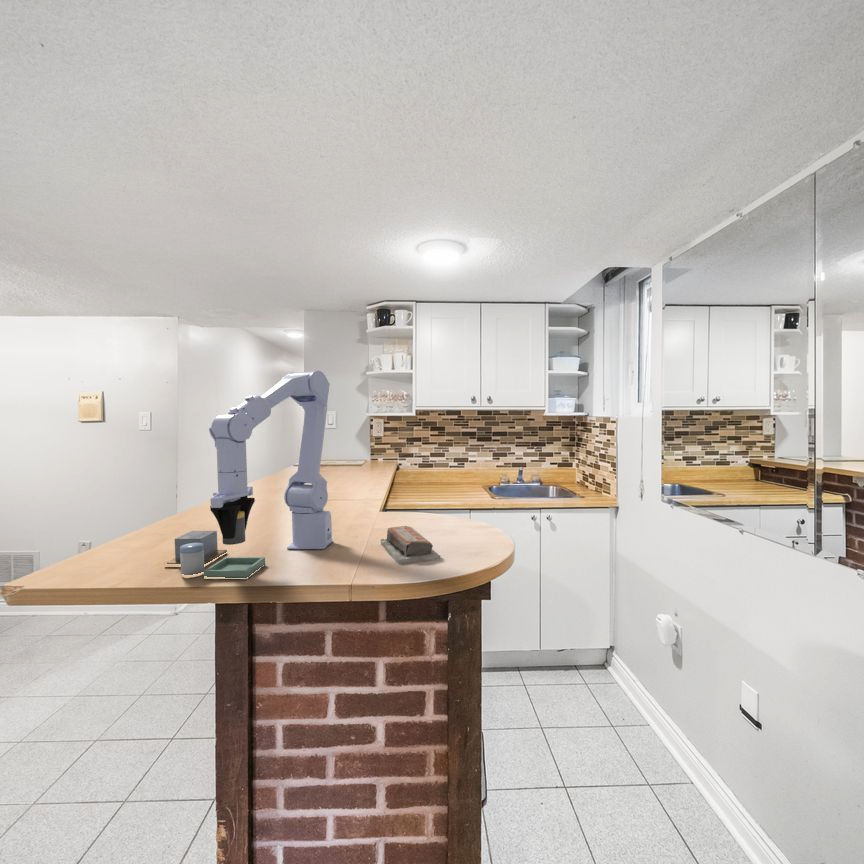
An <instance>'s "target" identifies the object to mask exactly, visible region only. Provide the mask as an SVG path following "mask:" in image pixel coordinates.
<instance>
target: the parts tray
mask: <svg viewBox="0 0 864 864" xmlns="http://www.w3.org/2000/svg"><path fill="white" fill-rule="evenodd" d="M263 565H265V566H266V556H261V557H260V556H258V557H255V556H246V557H244V556H241V557H239V556H234V557H233V556H226V557H224V558H222V559H221V560H218V561H216V562H214V564H212V565H211V566H209V567H206V569H205V570H204V571H203V572H204V575H203V577H204V576H207V577H225V578H247V577H249V576H250V575H251V574H252V573H254V572H255V571H256V570H258V569H259V568H260V567H262V566H263ZM262 568H263V567H262Z"/></svg>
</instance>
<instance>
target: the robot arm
mask: <svg viewBox="0 0 864 864" xmlns="http://www.w3.org/2000/svg"><path fill="white" fill-rule="evenodd" d="M329 391H330V382H329V380H328V378H327V376H326V375H325V373H323V371H321V370H314V371H305V372H304V371H301V372H289V373H288V374H286V375H284V376H282V377H281V380H280V381H278V382H277V383H276V384H275V385H273V387H271V388H269V389H268V390H267V391H266V392H265V393H264V394H262V395H261V396H260V395H248V396H246V397H245V398H244V400H245V401H243V402H242V403H241V404H239V405H238V406H236V407H231V408H230V409H229V412H228V413H227V414H219V415H217V416H216V417H215V418H214V419H213V421H212V422H211V426H210V427H209V428H208V431H209V435H210V437H211V438H212V439H213V442H214V447H215V449H216V469H217V472H216V473H217V491H214V492H212V496H213V497H210V511H211V513H212V515H214V518H215V519H216V520H217V521H216V522H217V523H218V526H219V530H220V533H221V535H222V540H223V539H233V538H234V537H235V532H236V520H237V516H238V512H239V511H244V514H245V531H246V530H247V525H248V520H249V515H250V513H251V510H252V507H253V506H254V503H255V502H256V499H255V497H251V496H253V495H254V487H253V486H248V469H247V468H248V465H247V464H248V463H247V460H248V459H247V440H249V439H250V438H251V436H252V433H253V430H254V429H255V428H256V427H257V426H259V425H260V424H262V423H263V422H264V421H265V420H266V419H268V418H269V417H270V416H271V413H272V409H273V408H274V407H276V406H277V405H279V404H280V403H282V402H284V401H285V400H287V399H288V398H289V397H290V398H291V399H292V400H293V401H294V402H296V403H297V405H299V406H300V407H302V409H303V410H304V419H303V425H302V426H303V427H302V433H301V434H302V435H301V442H300V450H299V457H298V465H297V471H296V472H295V473H294V474H293V475H292V476H290V478H289V479H288V485H287V486H286V489H285V491H284V494H283V495H284V503H285V505H286V506H287V507H288V508H289V511H290V512H291V523H292V524H291V527H292V534H291V535H292V543H290V544H288V546H287V547H286V549H287V550H325V549H326V548H327V547H328V546H329V545H330V544H331V543H332V542H333V537H332V536H333V534H332V533H333V531H332V530H333V529H332V514H331V512H330V511H329V510H324V508H325V506H326V504H327V502H328V498H329V494H328V490H327V489H328V488H327V487H328V481H327V480H326V479H325V478H324V477H323V476H322V475H321V474H320V471H321V463H322V455H323V454H322V452H323V446H324V437H325V429H326V421H327V413H328V400H329V399H328V398H329V394H330V393H329ZM249 496H250V497H249Z"/></svg>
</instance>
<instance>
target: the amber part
mask: <svg viewBox="0 0 864 864" xmlns="http://www.w3.org/2000/svg"><path fill="white" fill-rule="evenodd" d="M245 542H246V530H245V514H244V511H239V512H238V516H237V520H236V532H235V537H234V538H233V539H223V538H222V544H223V545H225V546H226V545H227V546H231V545H239V544H242V543H245Z"/></svg>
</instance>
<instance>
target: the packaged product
mask: <svg viewBox="0 0 864 864" xmlns="http://www.w3.org/2000/svg"><path fill="white" fill-rule="evenodd" d="M380 545H381V546H382V547H383V548H384V549H385V551H386V552H387V554H389V556H390V557H391V558H392V559H393V560H394V561H395V562H396V564H398V565H405V564H406V565H407V564H413V563H423V562H428V561H429V560H430V561H436V560H437V559H438V560H440V559H441V555H440V554H438V553H437V552H436V551H435V550H433V544H432V543H431V542H430V541H429V540H428V539H427V538H426V537H424V536H423V535H422V534H420V533H419V532H418V531H417V530H416V529H415V528H413V527H411V526H407V525H404V526H403V525H402V526H394V527H393V526H392V527H388V528H387V531H386V539H384V538H382V539H380Z"/></svg>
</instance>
